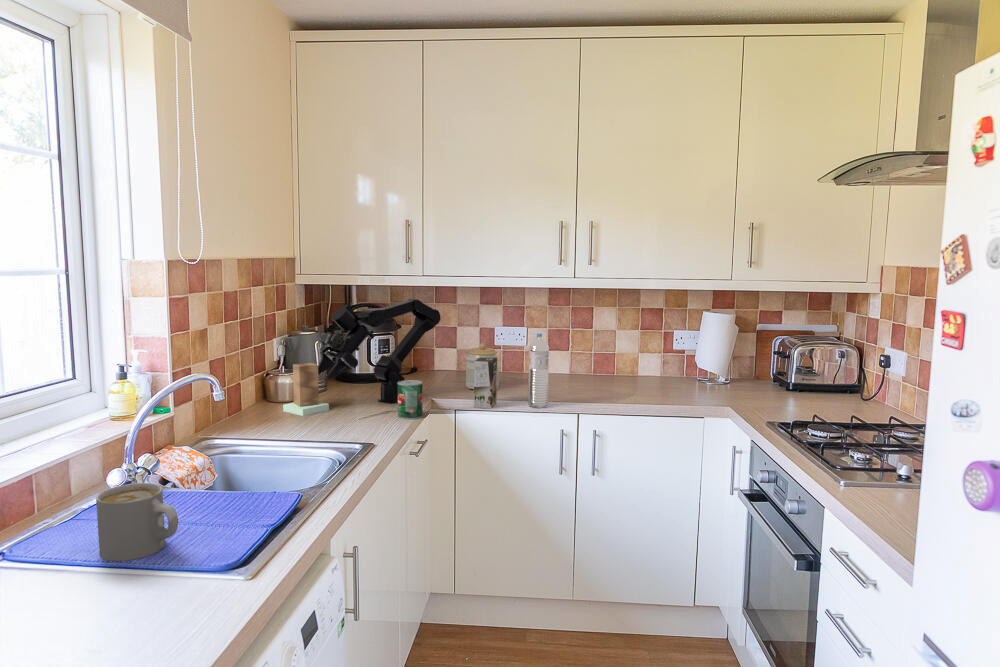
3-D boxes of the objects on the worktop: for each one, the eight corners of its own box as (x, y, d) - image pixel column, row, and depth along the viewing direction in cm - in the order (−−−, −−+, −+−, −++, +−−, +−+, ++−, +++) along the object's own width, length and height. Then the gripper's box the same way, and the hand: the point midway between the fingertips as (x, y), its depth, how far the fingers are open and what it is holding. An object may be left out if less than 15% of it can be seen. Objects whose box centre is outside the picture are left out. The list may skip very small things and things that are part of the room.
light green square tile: (331, 415, 211) (331, 409, 211) (303, 422, 202) (303, 416, 202) (309, 410, 217) (309, 404, 217) (281, 417, 208) (281, 411, 208)
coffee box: (491, 408, 220) (492, 361, 218) (473, 407, 221) (473, 360, 220) (497, 402, 229) (497, 357, 227) (479, 401, 230) (479, 356, 228)
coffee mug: (85, 555, 111) (81, 498, 110) (136, 532, 120) (133, 479, 119) (145, 569, 106) (142, 510, 105) (193, 544, 116) (190, 489, 115)
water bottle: (541, 409, 220) (543, 335, 217) (524, 406, 224) (525, 334, 221) (551, 405, 226) (552, 333, 223) (534, 403, 230) (535, 332, 227)
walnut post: (312, 401, 214) (311, 363, 213) (318, 403, 209) (318, 365, 208) (293, 403, 210) (292, 364, 209) (300, 406, 205) (299, 366, 204)
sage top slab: (329, 410, 210) (328, 403, 210) (302, 415, 202) (302, 409, 202) (309, 405, 216) (309, 399, 216) (283, 410, 208) (283, 404, 208)
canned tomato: (427, 416, 208) (427, 382, 207) (406, 420, 203) (406, 385, 202) (413, 412, 214) (413, 379, 213) (392, 415, 209) (392, 381, 208)
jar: (467, 384, 261) (467, 340, 259) (499, 385, 260) (500, 341, 258) (464, 391, 248) (464, 345, 246) (498, 391, 248) (498, 345, 245)
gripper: (324, 321, 220) (293, 356, 215) (348, 326, 205) (315, 364, 200) (347, 342, 226) (317, 377, 220) (371, 349, 211) (340, 387, 206)
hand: (321, 376), depth 212 cm, fingers open, 9 cm apart
